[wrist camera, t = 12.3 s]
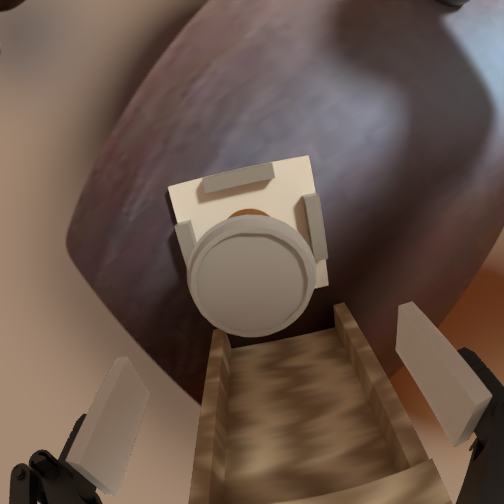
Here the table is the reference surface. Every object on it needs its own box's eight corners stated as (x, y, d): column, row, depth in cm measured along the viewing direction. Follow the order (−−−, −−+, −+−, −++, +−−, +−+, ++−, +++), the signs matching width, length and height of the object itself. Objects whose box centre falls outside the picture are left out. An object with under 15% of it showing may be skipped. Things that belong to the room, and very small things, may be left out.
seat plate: (306, 155, 30) (311, 155, 27) (326, 281, 34) (332, 291, 32) (170, 186, 30) (164, 188, 28) (205, 306, 35) (203, 317, 33)
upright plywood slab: (343, 299, 35) (460, 521, 7) (346, 333, 37) (435, 538, 9) (212, 326, 36) (177, 574, 8) (223, 358, 38) (207, 580, 10)
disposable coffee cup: (223, 288, 33) (214, 354, 22) (192, 210, 30) (162, 245, 19) (303, 263, 32) (332, 320, 21) (278, 181, 29) (299, 199, 18)
